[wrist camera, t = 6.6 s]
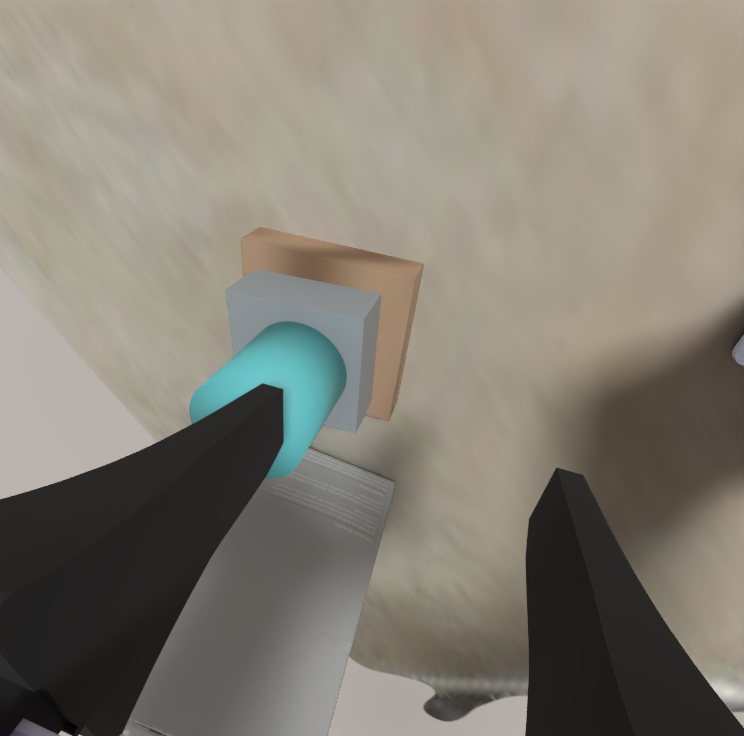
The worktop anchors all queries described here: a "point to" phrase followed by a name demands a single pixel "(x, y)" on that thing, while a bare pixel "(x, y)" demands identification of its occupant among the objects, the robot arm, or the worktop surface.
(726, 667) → the worktop surface
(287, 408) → the teal cylinder
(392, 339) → the walnut base slab
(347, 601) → the skincare box
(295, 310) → the slate top slab
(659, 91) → the worktop surface
